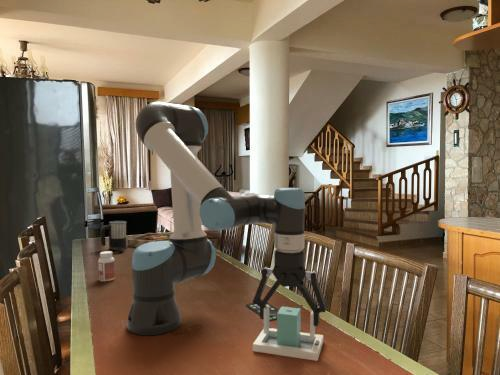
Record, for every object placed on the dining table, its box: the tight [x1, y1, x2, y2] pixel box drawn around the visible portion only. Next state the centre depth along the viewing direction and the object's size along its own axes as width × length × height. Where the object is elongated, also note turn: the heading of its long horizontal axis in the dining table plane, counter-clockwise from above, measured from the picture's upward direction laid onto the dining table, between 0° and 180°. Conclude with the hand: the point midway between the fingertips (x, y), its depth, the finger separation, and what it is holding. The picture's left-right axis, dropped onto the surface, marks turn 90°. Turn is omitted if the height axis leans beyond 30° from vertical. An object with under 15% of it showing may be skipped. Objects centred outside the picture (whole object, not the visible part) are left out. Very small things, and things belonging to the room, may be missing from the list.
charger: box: [276, 306, 302, 348], centre depth 100 cm, size 5×5×9 cm
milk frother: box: [99, 220, 128, 253], centre depth 211 cm, size 14×16×15 cm
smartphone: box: [245, 302, 280, 322], centre depth 124 cm, size 7×1×15 cm
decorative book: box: [144, 233, 170, 241], centre depth 226 cm, size 11×16×5 cm
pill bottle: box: [97, 250, 116, 282], centre depth 158 cm, size 6×6×11 cm
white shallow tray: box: [252, 327, 324, 362], centre depth 100 cm, size 16×10×2 cm, turn 72°
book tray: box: [127, 232, 172, 248], centre depth 227 cm, size 24×22×4 cm
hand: (289, 334), depth 100 cm, fingers open, 11 cm apart
